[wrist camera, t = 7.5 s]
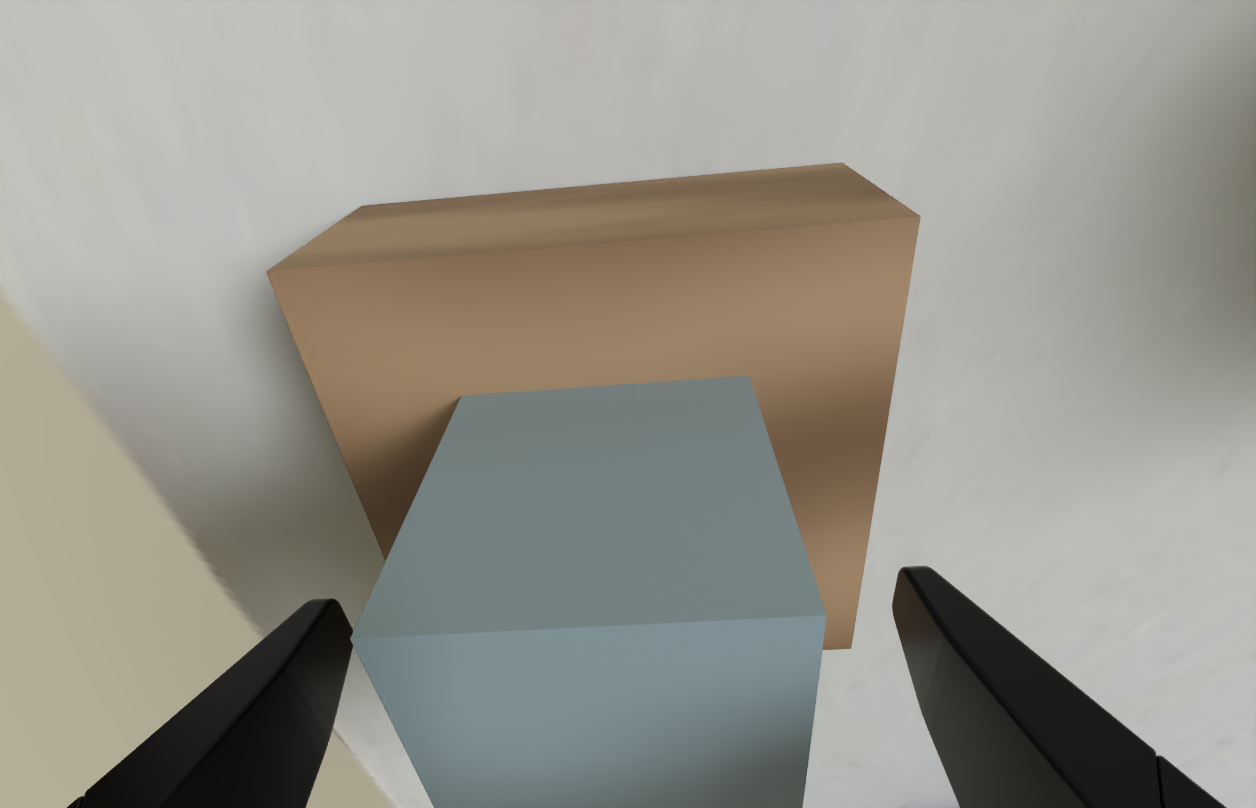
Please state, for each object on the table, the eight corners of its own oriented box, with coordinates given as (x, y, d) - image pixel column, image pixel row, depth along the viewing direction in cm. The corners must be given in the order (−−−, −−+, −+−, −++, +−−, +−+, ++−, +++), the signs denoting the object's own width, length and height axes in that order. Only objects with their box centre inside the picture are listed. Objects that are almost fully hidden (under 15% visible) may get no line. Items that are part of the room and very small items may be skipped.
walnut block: (809, 528, 18) (850, 648, 14) (468, 548, 18) (430, 668, 15) (842, 162, 12) (920, 216, 9) (361, 205, 13) (266, 272, 10)
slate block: (744, 579, 13) (797, 844, 9) (513, 591, 13) (458, 856, 9) (749, 375, 11) (826, 614, 6) (461, 395, 11) (349, 639, 7)
